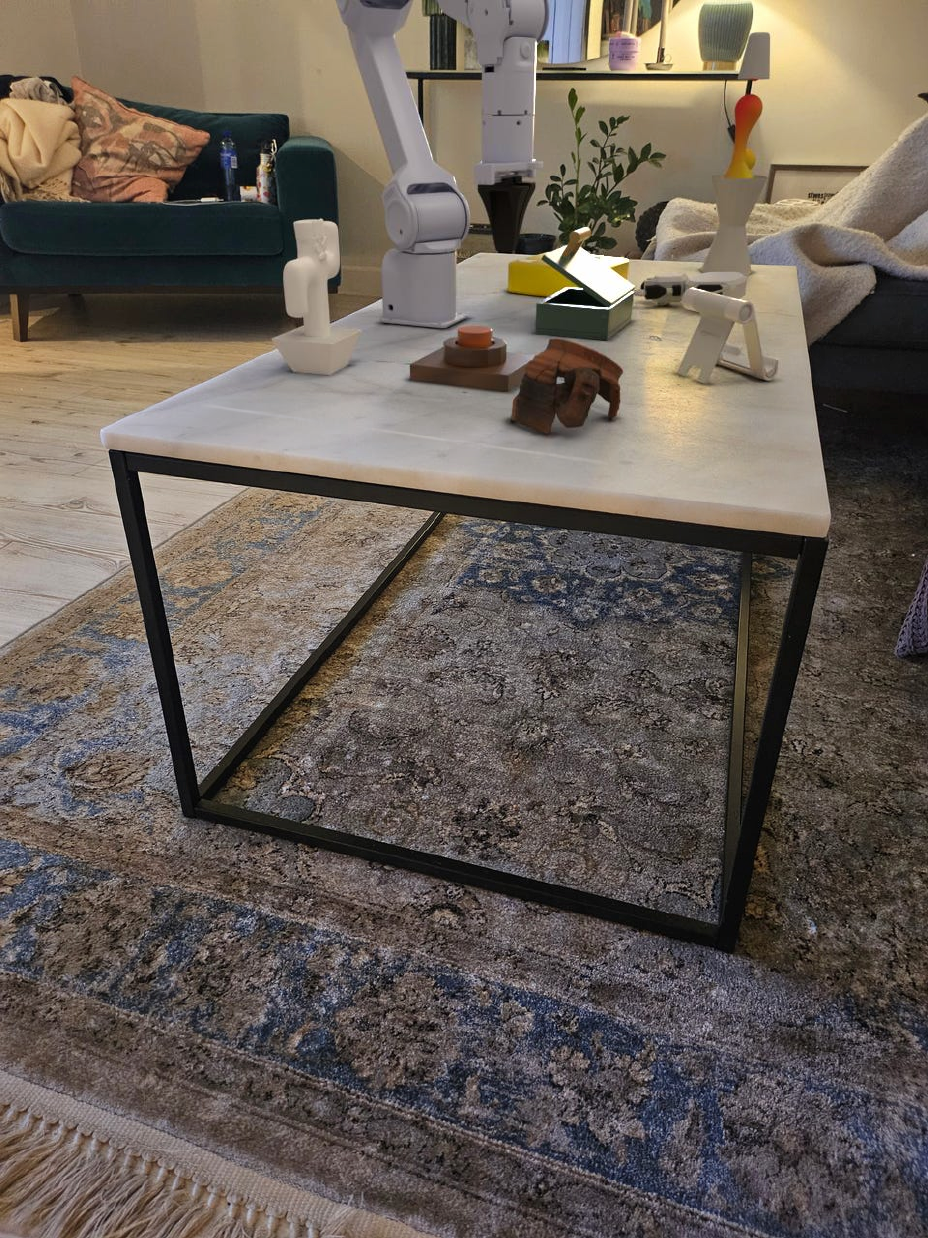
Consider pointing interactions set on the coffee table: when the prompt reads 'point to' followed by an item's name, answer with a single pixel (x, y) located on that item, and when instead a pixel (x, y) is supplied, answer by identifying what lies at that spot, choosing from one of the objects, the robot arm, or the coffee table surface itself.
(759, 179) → the lava lamp
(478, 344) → the button
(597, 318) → the enamel box
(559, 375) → the brown arched sculpture
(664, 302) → the robot toy
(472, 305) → the coffee table surface
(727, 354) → the tablet stand
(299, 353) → the figurine
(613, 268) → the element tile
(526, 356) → the control block
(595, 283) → the lid
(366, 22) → the robot arm
